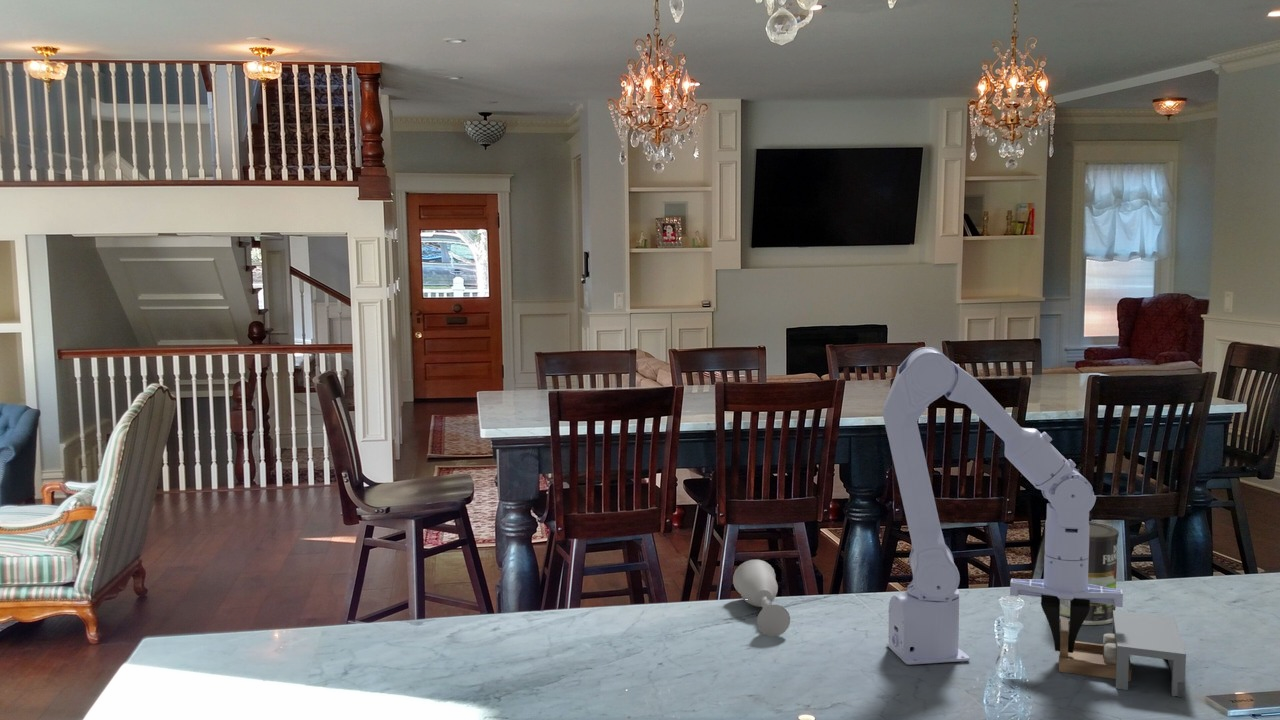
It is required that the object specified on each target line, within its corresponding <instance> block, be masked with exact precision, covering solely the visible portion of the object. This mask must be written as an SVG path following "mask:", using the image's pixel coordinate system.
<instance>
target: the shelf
mask: <svg viewBox="0 0 1280 720" xmlns="http://www.w3.org/2000/svg"><path fill="white" fill-rule="evenodd" d="M1111 624H1112V625H1111V626H1112V629H1111V634H1115V639H1116V647H1117V659H1116V679H1115V689H1118V690H1125V691H1128V690H1129V681H1128V671H1129V656H1137V657H1144V658H1154V659H1162V660H1168V665H1169V669H1170V673H1171V689H1170V690H1171V691H1170V693H1171V696H1172V697H1175V696H1178V698H1183V697H1184V698H1185V689H1186V688H1185V686H1186V668H1187V667H1186V666H1187V665H1186V663H1187V661H1186V660H1187V654H1186V649H1185V646H1184V642H1183V639H1182V637H1181V633H1180V630H1179V627H1178V622H1177V620H1176V617H1175V616H1172V615H1171V616H1170V615H1160V614H1150V613H1142V612H1132V611H1131V612H1130V611H1122V610H1116V609H1115V610H1113V622H1112V623H1111Z"/></svg>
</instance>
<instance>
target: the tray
mask: <svg viewBox="0 0 1280 720" xmlns="http://www.w3.org/2000/svg"><path fill="white" fill-rule="evenodd" d="M1068 635H1069V622H1068V619H1061V620H1060V651H1058V672H1061V673H1069V674H1073V675H1074V674H1075V675H1084V676H1090V677H1097V678H1106V679H1115V680H1116V659H1117V647H1116V639H1115V634H1112V632H1111V633H1104V634H1103V641H1102V643H1097V642H1096V643H1093V642H1087V641H1086V642H1085V641H1077V640H1075V644H1074V649H1073V653H1069V652H1068ZM1130 656H1131V655H1129V671H1128V682H1131V681H1132V663H1131V657H1130Z"/></svg>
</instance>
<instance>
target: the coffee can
mask: <svg viewBox="0 0 1280 720" xmlns="http://www.w3.org/2000/svg"><path fill="white" fill-rule="evenodd" d="M1089 526H1090V530H1089V562H1088V584H1092V585H1097V586H1102V587H1107V588H1113V589H1117V568H1118V542H1119V541H1118V540H1119V539H1118V538H1119V532H1120V531H1119V530H1118V529H1116V528H1115V527H1112V526H1110V525H1107V524H1103V523H1097V522H1091V521H1089ZM1113 610H1115V611H1116V606H1114V605H1111V604H1102V603H1092V602H1090V611H1089V613H1088V615H1087V617H1086V618H1085V620H1084V622H1083V623H1082V625H1084V626H1103V625H1108V624H1112V622H1113ZM1061 619H1068V624H1070V600H1063V599H1060V621H1061ZM1082 625H1081V626H1082Z"/></svg>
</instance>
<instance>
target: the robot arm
mask: <svg viewBox="0 0 1280 720" xmlns="http://www.w3.org/2000/svg"><path fill="white" fill-rule="evenodd" d="M942 396H945V398H946V399H947V400H949V401H951V402H955V403H959V404H964V405H966V406H967V407H968V408H969V409H970V410H971V411H972V412H973V413H974V414H975V415H976V416H977V417H978V418H979V419H981V420H982V422H983V423H985V425H987V427H989V428H990V429H991V430H992V431H993V432H994V433H995V434H996V435H997V436H998V437H999V438H1000V439H1001V440H1002V441H1003V442H1004V457H1005V458H1006V459H1007V460H1008V461H1009V462H1010V463H1011V464H1012V465H1013V466H1014V467H1015V468H1016V469H1017V470H1018V472H1020V473H1021V475H1022V476H1023V477H1024V478H1026V480H1028V481H1029V482H1030V484H1031V485H1033V487H1034V488H1035V489H1037V490H1040V491H1041V494H1042V496H1043V498H1044V499H1046V500H1048V503H1046V519H1045V521H1044V522H1045V523H1044V526H1045V527H1044V528H1045V529H1044V558H1043V559H1044V563H1043V578H1041V579H1033V578H1031V579H1029V578H1028V579H1027V578H1023V579H1022V578H1021V579H1020V578H1011V579H1010V585H1009V586H1010V587H1009V588H1010V589H1009V590H1010V591H1009V592H1010V593H1009V595H1010V596H1012V597H1019V595H1020V596H1027V597H1034V598H1035V597H1036V598H1040V606H1041V609H1042V611H1043V613H1044V615H1045V617H1046V619H1047V622H1048V625H1049V629H1050V631H1051V634H1052V638H1053V643H1054V651H1055V652H1059V651H1060V629H1061V623H1060V622H1061V620H1060V599H1063V600H1070V623H1069V625H1068V652H1069V653H1073V649H1074V644H1075V641H1077V638H1078V634H1079V632H1080V629H1081V627H1082V623H1083V622H1084V620H1085V618H1086V617H1087V615H1088V613H1089V611H1090V602H1092V603H1102V604H1111V605H1114V606H1115V607H1119V608H1123V603H1124V592H1123V589H1119V588H1116V589H1113V588H1107V587H1102V586H1097V585H1092V584H1088V562H1089V530H1090V526H1089V522H1090V511H1092V509H1093V507H1094V506H1095V503H1096V500H1097V496H1096V495H1095V492H1094V490H1093V486H1092V484H1091V483H1090V481H1089V480H1088V479H1087V478H1086V477H1084V476H1083V475H1082V474H1081V473H1080V471H1079V469H1077V468H1076V466H1077V464H1076V463H1075V461H1073V460H1072V459H1071V458H1069V459H1067V458H1065V456H1064V455H1062V454H1061V453H1060V452H1059V450H1058V449H1057V448H1056V447H1055V446H1054V445H1053V444H1052V443H1051V441H1053V438H1052V437H1051V436H1050V435H1049V434H1048V433H1047V432H1046V431H1043V432H1042V433H1041V431H1039V430H1038V429H1037V428H1034V427H1032V428H1031V427H1022V426H1020V424H1018V422H1016V420H1015V419H1014V418H1013V417H1012V416H1011V415H1010V413H1008V411H1006V410H1005V408H1004V407H1003V406H1002V405H1001V404H1000V403H999V402H998V401H997V400H996V399H995V398H994V397H993V395H992V394H991V393H990V392H989V391H988V390H987V389H986V388H985V387H984V386H983V384H981V383H980V382H979V380H978V379H976V378H975V377H974V376H973V375H971V374H970V373H969V372H967V371H966V370H965V369H963V368H962V367H960V366H959V365H958V364H956V363H955V362H954V361H952V360H950V358H949V357H948V356H946V355H945V354H944V353H943V352H942V351H941V350H940V349H937V348H934V347H931V346H924V347H922V346H921V347H919V348H916V349H915V350H913V351H912V352H910V354H909V355H908V356H907V357H906V358H905V359H904V360H903V361H902V362H901V364H900V365H898V367H897V370H896V373H895V377H894V379H893V382H892V384H891V386H890V390H889V392H888V394H887V396H886V399H885V401H884V404H883V406H882V417H883V421H884V426H885V431H886V434H887V438H888V443H889V449H890V453H891V457H892V461H893V467H894V471H895V475H896V478H897V483H898V487H899V493H900V496H901V501H902V506H903V510H904V514H905V519H906V524H907V527H908V528H907V529H908V532H909V536H910V540H911V551H910V553H909V558H908V559H909V562H908V563H909V567H910V569H911V572H912V580H911V581H910V583H909V584H908V585H907V590H906V591H905V592H903V593H900V594H895V595H892V596H891V597H890V600H889V604H888V641H886V646H887V647H888V648H889V649H890V650H891V651H892V652H893V653H894V654H895V655H896V656H897V657H898V658H900V660H901V661H902V662H903V663H904V664H906V665H908V666H909V665H922V664H923V665H925V664H939V663H941V664H942V663H954V662H955V663H956V662H969V661H970V660H971V658H970V656H969V655H968V654H967V653H965V652H964V651H963V650H962V649H960V648H959V639H960V638H959V636H960V635H959V633H960V632H959V631H960V630H959V629H960V589H958V588H959V585H960V581H961V577H960V576H961V575H960V571H959V570H958V567H957V565H956V564H955V562H954V561H955V559H954V556H953V552H952V551H951V550H950V548H949V546H948V545H947V544H946V542H945V538H944V534H943V531H942V526H941V523H940V519H939V517H940V516H939V514H938V510H937V505H936V500H935V495H934V491H933V486H932V482H931V478H930V477H931V476H930V473H929V468H928V464H927V460H926V455H925V451H924V447H923V442H922V439H921V438H922V437H921V433H920V429H919V425H918V420H919V419H920V418H921V416H922V415H923V414H924V412H926V410H927V409H928V407H929V406H930V404H932V403H933V402H934V401H936V400H938V399H939V398H941V397H942Z"/></svg>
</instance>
